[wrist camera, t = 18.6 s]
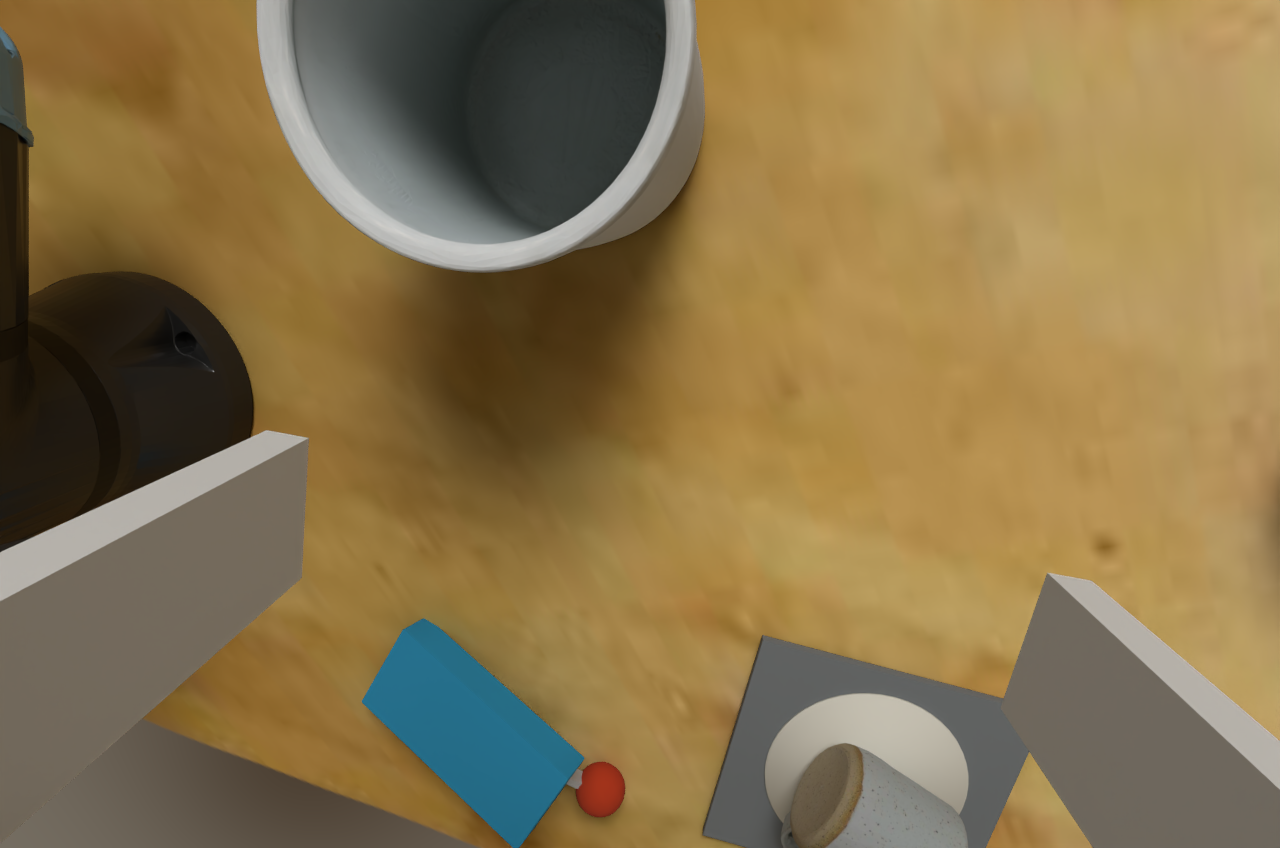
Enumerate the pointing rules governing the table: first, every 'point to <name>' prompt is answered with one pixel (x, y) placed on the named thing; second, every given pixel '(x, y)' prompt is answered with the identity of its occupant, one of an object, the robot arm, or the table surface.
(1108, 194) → the table surface
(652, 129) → the utensil holder
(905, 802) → the ceramic mug
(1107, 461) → the table surface
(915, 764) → the mat
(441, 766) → the lever
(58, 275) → the table surface
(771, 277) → the table surface
